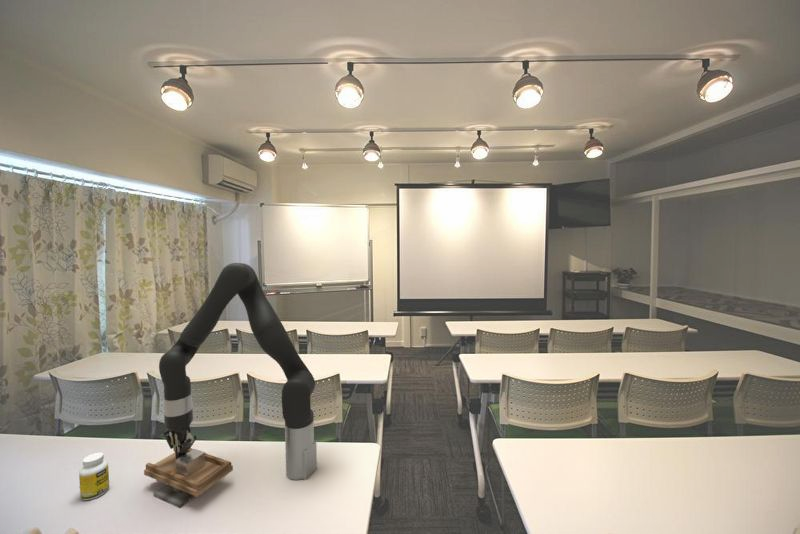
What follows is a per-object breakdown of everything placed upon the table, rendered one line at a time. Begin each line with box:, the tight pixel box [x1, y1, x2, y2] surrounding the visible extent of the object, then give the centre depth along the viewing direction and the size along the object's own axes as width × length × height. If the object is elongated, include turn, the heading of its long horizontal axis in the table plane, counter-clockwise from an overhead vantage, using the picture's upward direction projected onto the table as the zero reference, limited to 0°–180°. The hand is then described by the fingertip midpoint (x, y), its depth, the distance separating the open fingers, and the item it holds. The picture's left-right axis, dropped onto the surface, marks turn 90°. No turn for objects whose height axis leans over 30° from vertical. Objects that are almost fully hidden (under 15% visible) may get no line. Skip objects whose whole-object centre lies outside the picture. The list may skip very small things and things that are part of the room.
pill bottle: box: [78, 452, 110, 501], centre depth 99 cm, size 6×6×12 cm
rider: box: [176, 448, 206, 476], centre depth 102 cm, size 5×6×4 cm
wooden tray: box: [143, 447, 234, 509], centre depth 102 cm, size 24×14×8 cm, turn 68°
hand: (180, 461), depth 104 cm, fingers closed
